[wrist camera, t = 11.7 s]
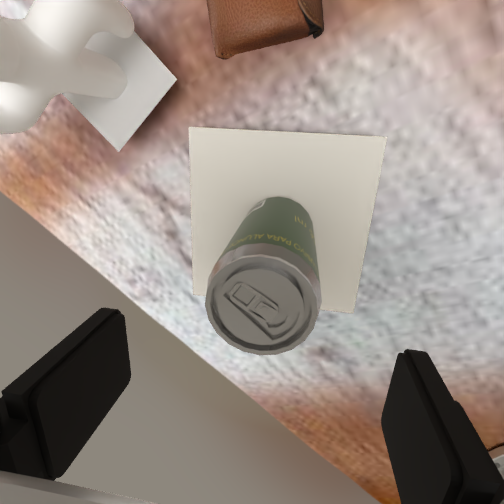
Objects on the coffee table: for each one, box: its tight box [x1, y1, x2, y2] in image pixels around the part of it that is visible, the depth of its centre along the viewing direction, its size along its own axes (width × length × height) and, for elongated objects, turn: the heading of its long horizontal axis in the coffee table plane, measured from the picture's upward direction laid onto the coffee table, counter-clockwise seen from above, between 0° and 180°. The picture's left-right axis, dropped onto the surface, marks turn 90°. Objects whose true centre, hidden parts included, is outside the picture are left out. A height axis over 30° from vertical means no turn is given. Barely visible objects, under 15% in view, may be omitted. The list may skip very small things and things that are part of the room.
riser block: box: [189, 127, 387, 313], centre depth 26 cm, size 14×14×4 cm
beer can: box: [205, 197, 322, 355], centre depth 19 cm, size 5×5×12 cm
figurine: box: [0, 0, 177, 152], centre depth 19 cm, size 7×9×15 cm
